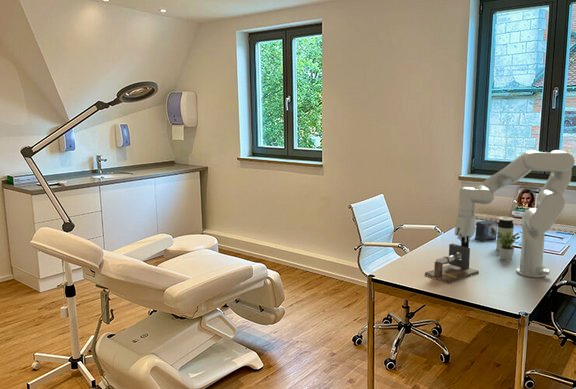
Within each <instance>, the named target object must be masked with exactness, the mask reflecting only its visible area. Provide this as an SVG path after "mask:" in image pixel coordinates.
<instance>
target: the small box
mask: <svg viewBox="0 0 576 389" xmlns="http://www.w3.org/2000/svg"><path fill="white" fill-rule="evenodd" d="M497 230H498V222H496V221H494V220H491V219H490V220H478V221H475V234H474V239H476V240H479V241H481V242H483V241H492V240H494V241H495V240H497Z"/></svg>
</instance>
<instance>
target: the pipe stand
mask: <svg viewBox="0 0 576 389" xmlns="http://www.w3.org/2000/svg"><path fill="white" fill-rule="evenodd" d="M461 255H462V253H458V252H457V254H454V255H450V256H449V255H447V256H443V257H440V258H437V259H436V260H435V261H434V267H433V268H434V269H433V270H429V271H426V272H425V273H424V276H427V275H428V276H427V277H429V276H431V277H430V278H432V277H434V278H433V279H435V278H436V279H435V280H438V279H439V280H438V281H441V282H444V283H446V282H447V283H446V284H451V283H454V282H457V281H460V280H463V279H466V278H469V277H472V276H475V275H478V274H479V271H480V270H477V269H474V268H471V267H469V268H468V269H463V268H460V267H457V266H454V265H451V264H449V262H453V261H456V260H461ZM447 264H448V265H447ZM443 265H445V266H443ZM477 273H478V274H477ZM474 274H475V275H474ZM471 275H472V276H471Z"/></svg>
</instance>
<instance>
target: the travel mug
mask: <svg viewBox="0 0 576 389" xmlns="http://www.w3.org/2000/svg"><path fill="white" fill-rule="evenodd" d="M514 219H515V218H513V217H510V216H500V217H498V222H497V235H496V240H501V238H500V236H501V235H500V233H499V232H498V230H499V231H500V232H501V233H502V235H503V237H504V235H505V238H506V230H507V233H508V232H509V231H510V229H511V236H512V237H513V235H514V226H515V224H514V222H513V221H514ZM498 234H499V235H500V236H499V235H498ZM512 237H510V239H511V238H512ZM513 245H514V243H512V244H511V245H510V246H512V247H513ZM500 246H502V244H501V243H500V242H498V241H496V251H497V250H498V251H499V252H500Z"/></svg>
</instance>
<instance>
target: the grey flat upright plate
mask: <svg viewBox="0 0 576 389" xmlns="http://www.w3.org/2000/svg"><path fill="white" fill-rule="evenodd" d="M448 246H449V248H448V256H450V255H454V254H457V253H462V255H461V259H459V260H456V261H453V262H449V263H448V265H454V266H457V267H460V268H463V269H468V268H470V256H471V255H470V252H471V248H470V247H469V248H467V247H464V246H461V244H455V243H449V245H448Z"/></svg>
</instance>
